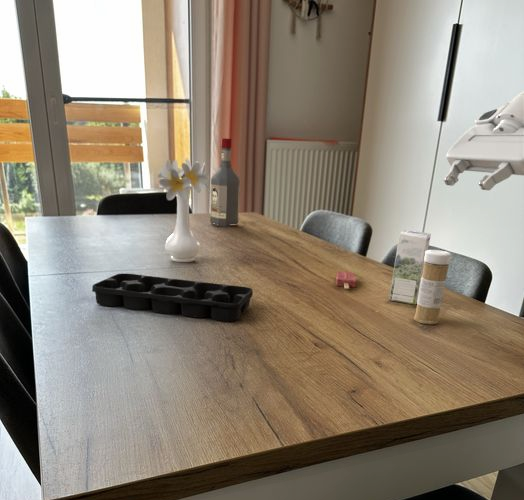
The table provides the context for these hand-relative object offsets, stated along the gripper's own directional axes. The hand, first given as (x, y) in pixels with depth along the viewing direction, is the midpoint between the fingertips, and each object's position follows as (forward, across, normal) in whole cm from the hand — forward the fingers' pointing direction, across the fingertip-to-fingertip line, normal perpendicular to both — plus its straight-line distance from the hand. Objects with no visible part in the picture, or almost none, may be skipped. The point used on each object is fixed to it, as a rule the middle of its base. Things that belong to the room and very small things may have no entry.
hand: (464, 185), depth 90 cm
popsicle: (+22, +28, -13) cm, 38 cm away
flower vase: (+45, +55, +10) cm, 72 cm away
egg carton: (+52, +18, +17) cm, 57 cm away
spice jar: (+20, 0, -16) cm, 25 cm away
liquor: (+26, +113, -7) cm, 116 cm away
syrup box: (+17, +14, -18) cm, 29 cm away
